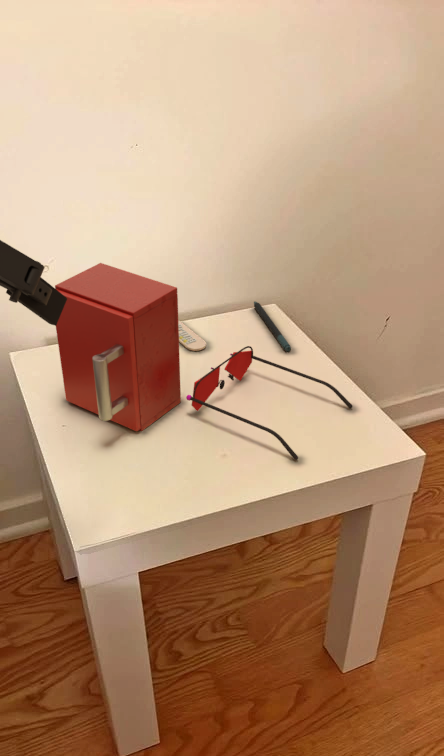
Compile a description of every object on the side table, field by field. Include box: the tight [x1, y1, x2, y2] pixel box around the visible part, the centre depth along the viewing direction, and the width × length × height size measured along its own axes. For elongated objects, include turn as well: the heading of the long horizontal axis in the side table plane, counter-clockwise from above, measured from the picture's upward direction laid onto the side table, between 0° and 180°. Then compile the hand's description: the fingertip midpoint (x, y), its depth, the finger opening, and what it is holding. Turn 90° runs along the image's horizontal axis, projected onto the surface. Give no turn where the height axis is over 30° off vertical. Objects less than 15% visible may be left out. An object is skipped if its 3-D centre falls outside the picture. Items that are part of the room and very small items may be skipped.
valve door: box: [55, 289, 141, 432], centre depth 92 cm, size 5×12×15 cm, turn 55°
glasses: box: [185, 345, 353, 461], centre depth 98 cm, size 14×16×5 cm
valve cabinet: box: [54, 262, 182, 432], centre depth 96 cm, size 8×12×16 cm, turn 55°
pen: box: [253, 301, 292, 353], centre depth 117 cm, size 1×16×1 cm, turn 16°
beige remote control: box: [178, 319, 207, 352], centre depth 114 cm, size 10×1×3 cm
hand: (2, 295), depth 73 cm, fingers open, 13 cm apart
